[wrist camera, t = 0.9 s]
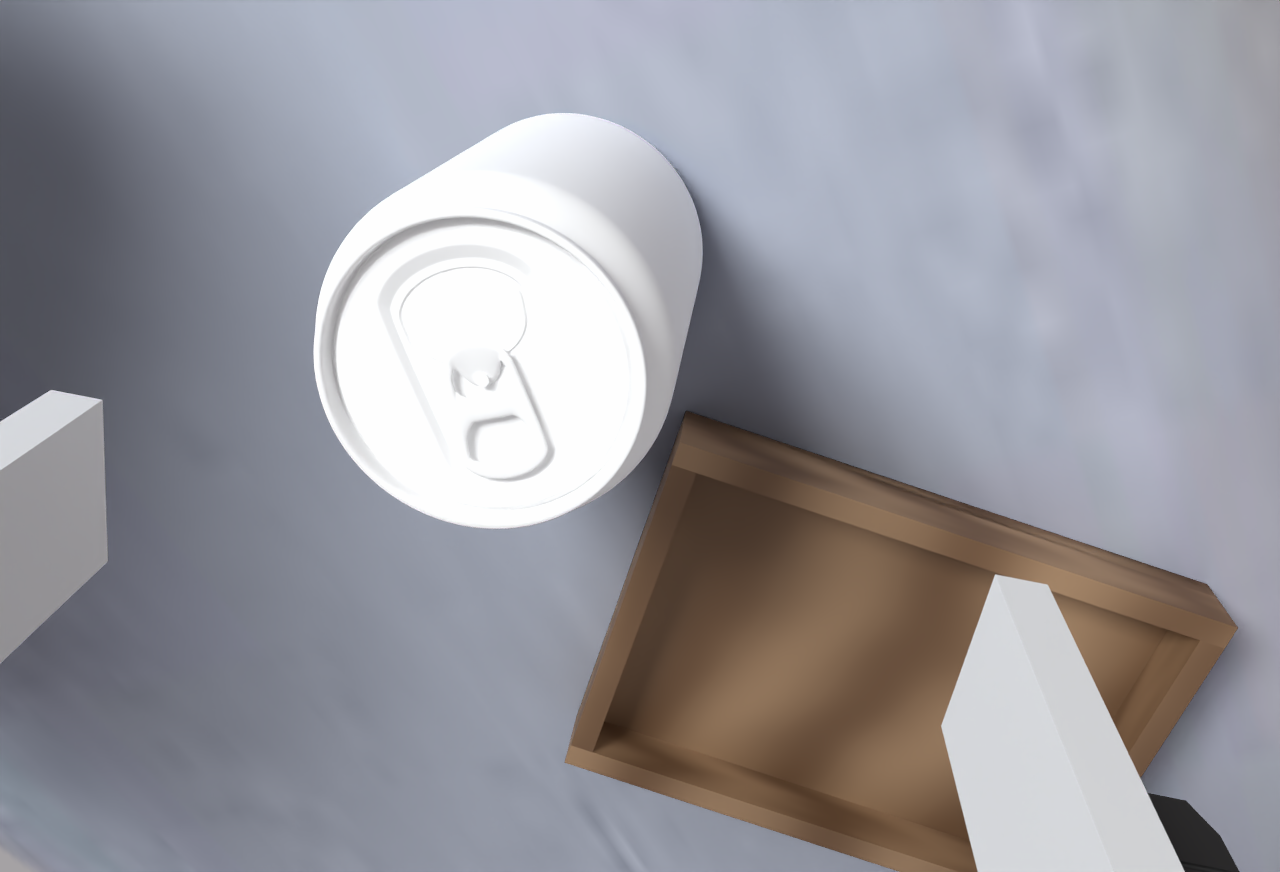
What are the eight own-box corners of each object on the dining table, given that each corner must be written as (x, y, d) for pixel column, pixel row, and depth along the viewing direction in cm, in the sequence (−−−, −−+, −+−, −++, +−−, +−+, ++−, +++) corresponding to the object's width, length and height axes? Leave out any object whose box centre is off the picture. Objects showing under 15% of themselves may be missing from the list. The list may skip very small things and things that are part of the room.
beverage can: (671, 81, 32) (617, 142, 21) (728, 343, 35) (707, 518, 24) (411, 144, 33) (233, 231, 22) (487, 390, 36) (362, 574, 25)
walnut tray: (576, 716, 41) (564, 762, 39) (685, 410, 36) (679, 442, 33) (1032, 865, 41) (1048, 920, 39) (1207, 584, 36) (1238, 627, 34)
